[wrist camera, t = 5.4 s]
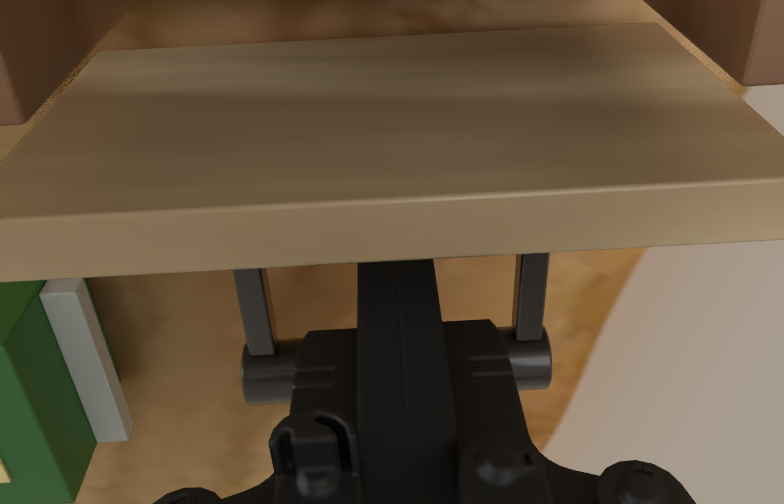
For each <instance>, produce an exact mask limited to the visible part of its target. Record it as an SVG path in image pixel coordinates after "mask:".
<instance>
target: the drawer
mask: <svg viewBox="0 0 784 504" xmlns="http://www.w3.org/2000/svg"><path fill="white" fill-rule="evenodd" d="M643 1H645V2H646V3H647V4H648V5H649V6H650V7H652V8H653V9H654V10H655V11H656V12H657V13H659V14H660V15H661V16H662V17H663V18H664V19H665V20H667V21H668V22H669V23H670V24H671V25H672V26H674V27H675V28H676V29H677V30H678V31H679V32H680V33H682V34H683V35H684V36H685V37H686V38H687V39H689V40H690V41H691V42H692V43H693V44H694V45H696V46H697V47H698V48H699V49H700V50H701V51H702V52H704V53H705V54H706V55H707V56H708V57H709V58H711V59H712V60H713V61H714V62H715V63H716V64H718V65H719V66H720V67H721V68H722V69H723V70H724V71H726V72H727V73H728V74H729V75H730V76H731V77H733V78H734V79H735V80H736V81H737V82H738V83H739V84H741V85H742V86H759V85H777V84H784V0H643ZM135 2H136V0H0V126H2V125H21V124H25V123H26V122H27V121H28V120H29V119H30V118H31V117H32V116H33V114H34V113H35V112H36V111H37V110H38V109H39V108H40V107H41V106H42V104H43V103H44V102H45V101H46V100H47V99H48V98H49V97H50V96H51V95H52V93H53V92H54V91H55V90H56V89H57V88H58V87H59V86H60V85H61V83H62V82H63V81H64V80H65V79H66V78H67V77H68V76H69V75H70V74H71V72H72V71H73V70H74V69H75V68H76V67H77V66H78V65H79V64H80V63H81V61H82V60H83V59H84V58H85V57H86V56H87V55H88V54H89V53H90V51H91V50H92V49H93V48H94V47H95V46H96V45H97V44H98V43H99V42H100V40H101V39H102V38H103V37H104V36H105V35H106V34H107V33H108V32H109V30H110V29H111V28H112V27H113V26H114V25H115V24H116V23H117V22H118V21H119V19H120V18H121V17H122V16H123V15H124V14H125V13H126V12H127V11H128V9H129V8H130V7H131V6H132V5H133V4H134V3H135ZM769 240H784V136H782V135H781V134H780V133H779V132H778V131H777V130H776V129H775V128H774V127H773V126H771V125H770V124H769V123H768V122H767V121H766V120H765V119H764V118H763V117H761V116H760V115H759V114H758V113H757V112H756V111H755V110H754V109H753V108H751V107H750V106H749V105H748V104H747V103H746V102H745V101H744V100H743V99H741V98H740V97H739V96H738V95H737V94H736V93H735V92H734V91H733V90H731V89H730V88H729V87H728V86H727V85H726V84H725V83H724V82H723V81H721V80H720V79H719V78H718V77H717V76H716V75H715V74H714V73H713V72H711V71H710V70H709V69H708V68H707V67H706V66H705V65H704V64H703V63H701V62H700V61H699V60H698V59H697V58H696V57H695V56H694V55H692V54H691V53H690V52H689V51H688V50H687V49H686V48H685V47H684V46H682V45H681V44H680V43H679V42H678V41H677V40H676V39H675V38H674V37H672V36H671V35H670V34H669V33H668V32H667V31H666V30H665V29H664V28H662V27H661V26H660V25H659V24H658V23H656V22H653V23H634V24H615V25H595V26H576V27H557V28H538V29H518V30H499V31H480V32H461V33H441V34H422V35H403V36H384V37H365V38H345V39H326V40H307V41H288V42H268V43H249V44H230V45H211V46H191V47H172V48H153V49H134V50H114V51H100V52H98V53H97V54H96V55H95V56H94V57H93V58H92V60H91V61H90V62H89V63H88V64H87V65H86V66H85V68H84V69H83V70H82V71H81V72H80V73H79V74H78V76H77V77H76V78H75V79H74V80H73V81H72V82H71V84H70V85H69V86H68V87H67V88H66V89H65V90H64V91H63V93H62V94H61V95H60V96H59V97H58V98H57V99H56V101H55V102H54V103H53V104H52V105H51V106H50V107H49V109H48V110H47V111H46V112H45V113H44V114H43V115H42V117H41V118H40V119H39V120H38V121H37V122H36V123H35V125H34V126H33V127H32V128H31V129H30V130H29V131H28V132H27V134H26V135H25V136H24V137H23V138H22V139H21V140H20V142H19V143H18V144H17V145H16V146H15V147H14V148H13V150H12V151H11V152H10V153H9V154H8V155H7V156H6V158H5V159H4V160H3V161H2V162H1V163H0V282H16V281H35V280H53V279H71V278H90V277H108V276H126V275H145V274H163V273H181V272H200V271H218V270H233V275H234V280H235V285H236V290H237V295H238V300H239V305H240V310H241V315H242V320H243V325H244V330H245V334H246V339H247V342H246V343H245V345H244V348H243V352H242V361H241V379H242V389H243V394H244V398H245V401H246V403H247V404H248V405H251V406H252V405H270V404H288V403H291V397H292V390H293V379H294V373H295V370H294V369H295V360H296V351H297V348H298V347H299V345H300V344H301V342H302V341H303V339H304V338H289V339H278V336H277V330H276V325H275V319H274V313H273V307H272V301H271V295H270V289H269V283H268V277H267V271H266V268H273V267H292V266H310V265H328V264H347V263H365V262H384V261H402V260H420V259H439V258H457V257H475V256H494V255H512V254H516V267H515V282H514V297H513V312H512V326H506V327H497V328H498V330H499V331H500V332H501V333H502V334H503V335H504V337H505V341H506V345H507V349H508V353H509V360H510V361H511V365H512V369H513V376H514V377H515V381H516V386H517V390H518V391H520V390H538V389H547V388H549V386H550V383H551V378H552V355H551V347H550V341H549V337H548V334H547V331H546V329H545V327H544V326H543V316H544V306H545V296H546V286H547V276H548V266H549V256H550V252H567V251H586V250H604V249H622V248H641V247H657V246H658V247H659V246H677V245H695V244H714V243H733V242H751V241H769Z"/></svg>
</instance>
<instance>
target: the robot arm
mask: <svg viewBox="0 0 784 504" xmlns="http://www.w3.org/2000/svg"><path fill="white" fill-rule="evenodd" d="M294 370H295V373H294V379H293V390H292V397H291V407H290V415H289V416H287V417H285V418H284V419H283V420H282V421H281V422H280V423H279V424H278V425H277V426H276V427H275V428H274V429H273V432H272V434H271V437H270V439H269V442H268V443H269V448H270V453H271V458H272V463H273V468H274V473H273V474H272V475H271V476H270V477H269V478H268V479H266V480H265V481H264V482H262V483H261V484H259V485H258V486H255V487H253V488H251V489H249V490H246V491H244V492H241V493H238V494H235V495H232V496H229V497H226V498H223V499H221V498H220V497H219V496H218V495H217V494H216V493H215V492H212V491H209V490H206V489H204V488H201V487H198V488H182V489H179V490H176V491H173V492H170V493H167V494H166V495H164V496H163V497H162V498H160V499H159V500H157V501H156V502H154V503H153V504H696V503H695V502H694V500H693V499H692V497H691V496H690V495H689V494H688V492H687V491H686V489H685V488H684V487H683V486H682V484H681V483H680V482H679V481H678V480H677V479H676V478H675V477H674V476H672V475H671V474H670V473H669V472H668V471H666V470H664V469H662V468H660V467H658V466H656V465H654V464H652V463H647V462H642V461H637V460H632V461H621V462H617V463H615V464H613V465H611V466H609V467H607V468H606V469H605V470H604V471H603V473H602V474H601V475H600V476H598V475H594V474H589V473H584V472H580V471H575V470H572V469H568V468H565V467H562V466H559V465H558V464H556V463H554V462H552V461H550V460H548V459H547V458H546V457H545V456H544V455H543V454H541V453H540V452H539V451H538V450H537V448H536V447H535V446H534V444H533V443H532V441H531V438H530V436H529V434H528V430H527V426H526V422H525V418H524V414H523V410H522V406H521V402H520V398H519V394H518V390H517V386H516V381H515V377H514V376H513V369H512V365H511V361H510V360H509V353H508V349H507V345H506V341H505V337H504V335H503V334H502V333H501V332H500V331H499V330H498V328H497V327H496V326H495V325H494V324H493V323H492V322H491V321H490V319H483V320H465V321H447V322H442V318H441V311H440V304H439V297H438V290H437V283H436V276H435V269H434V262H433V259H420V260H402V261H384V262H365V263H358V297H357V328H351V329H334V330H316V331H309V332H308V333H307V335H306V336H305V338H304V339H303V341H302V342H301V344H300V345H299V347H298V348H297V351H296V360H295V369H294Z"/></svg>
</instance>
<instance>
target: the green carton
mask: <svg viewBox="0 0 784 504" xmlns="http://www.w3.org/2000/svg"><path fill="white" fill-rule="evenodd" d="M120 382H121V379H120V376H119V373H118V370H117V367H116V364H115V362H114V359H113V356H112V353H111V350H110V347H109V344H108V341H107V338H106V335H105V332H104V329H103V327H102V324H101V321H100V318H99V315H98V312H97V309H96V306H95V303H94V300H93V297H92V295H91V292H90V289H89V286H88V283H87V280H86V278H71V279H53V280H35V281H16V282H0V504H66V503H74V502H75V500H76V497H77V495H78V492H79V489H80V487H81V484H82V481H83V479H84V476H85V474H86V471H87V468H88V466H89V463H90V460H91V458H92V455H93V453H94V450H95V447H96V445H97V442H113V441H128V440H129V437H130V434H131V431H132V428H133V425H134V423H133V421H132V418H131V415H130V412H129V409H128V406H127V403H126V400H125V397H124V394H123V392H122V389H121V386H120Z"/></svg>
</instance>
